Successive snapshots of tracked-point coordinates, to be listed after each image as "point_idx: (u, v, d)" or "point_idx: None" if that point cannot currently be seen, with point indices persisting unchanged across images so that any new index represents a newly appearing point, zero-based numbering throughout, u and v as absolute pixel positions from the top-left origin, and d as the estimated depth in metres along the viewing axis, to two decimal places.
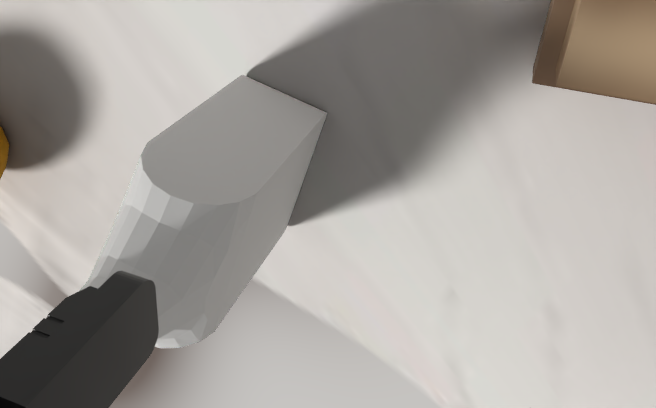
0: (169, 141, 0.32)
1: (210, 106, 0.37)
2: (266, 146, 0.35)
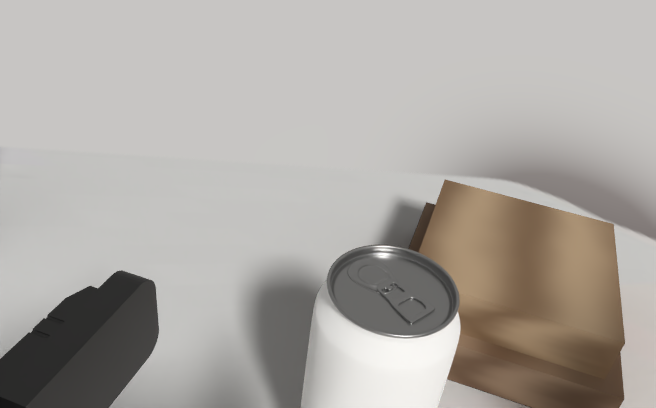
0: None
1: None
2: None
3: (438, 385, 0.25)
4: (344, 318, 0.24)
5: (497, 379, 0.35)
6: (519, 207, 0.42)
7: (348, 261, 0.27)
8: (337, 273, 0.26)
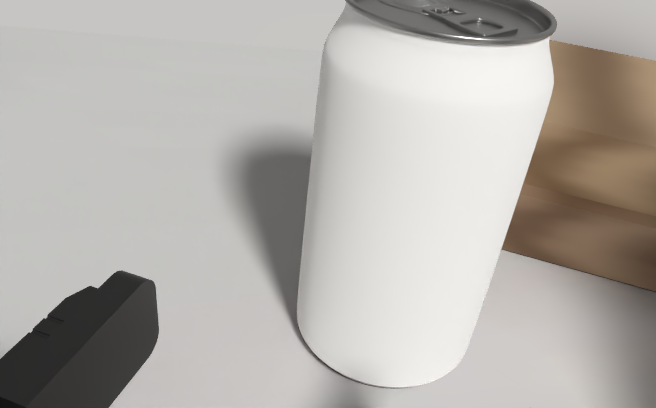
0: None
1: None
2: None
3: (521, 161, 0.16)
4: (375, 28, 0.15)
5: (569, 241, 0.26)
6: (580, 51, 0.33)
7: None
8: None
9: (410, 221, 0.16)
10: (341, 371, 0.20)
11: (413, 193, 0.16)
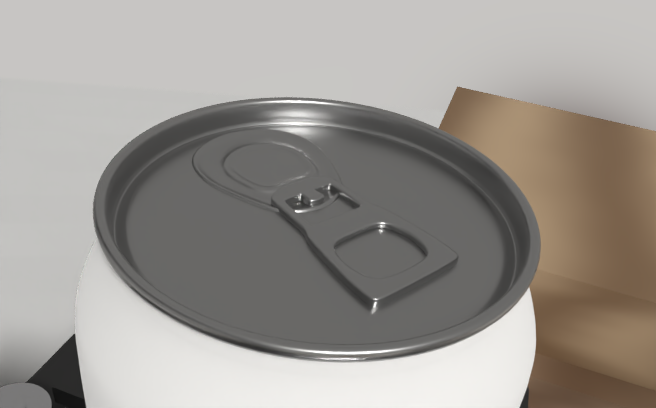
0: None
1: None
2: None
3: None
4: (126, 285, 0.06)
5: None
6: (585, 125, 0.25)
7: (207, 135, 0.09)
8: (161, 160, 0.09)
9: None
10: None
11: None
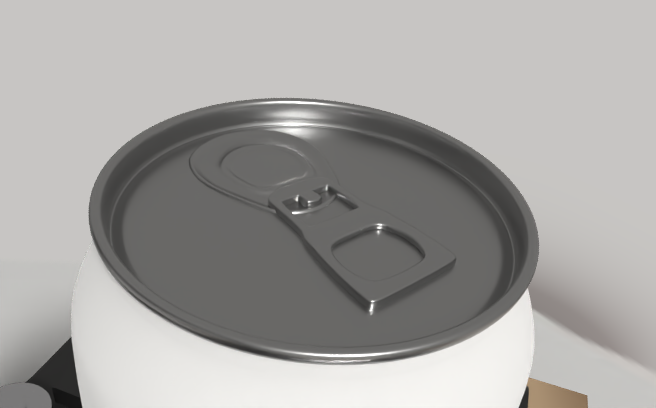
0: None
1: None
2: None
3: None
4: (121, 287, 0.06)
5: None
6: None
7: (204, 136, 0.09)
8: (158, 160, 0.09)
9: None
10: None
11: None
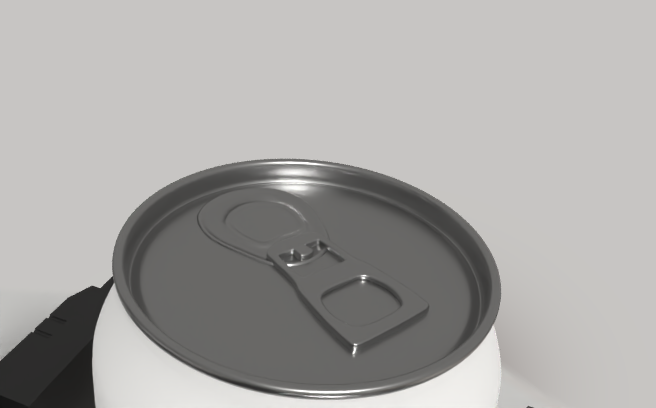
0: None
1: None
2: None
3: None
4: (140, 332, 0.07)
5: None
6: None
7: (210, 193, 0.11)
8: (170, 217, 0.10)
9: None
10: None
11: None
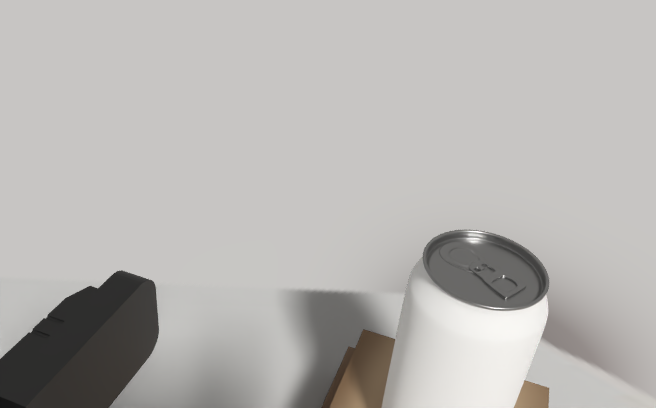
0: None
1: None
2: None
3: (528, 359, 0.27)
4: (443, 293, 0.26)
5: None
6: None
7: (438, 244, 0.29)
8: (430, 254, 0.28)
9: (462, 395, 0.27)
10: None
11: (464, 381, 0.26)
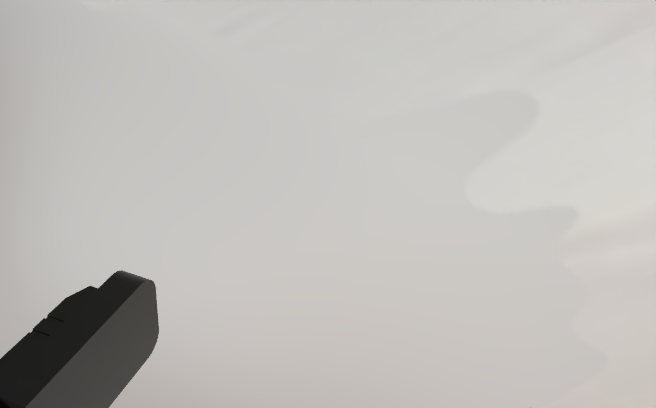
0: None
1: None
2: None
3: None
4: None
5: None
6: None
7: None
8: None
9: None
10: None
11: None
